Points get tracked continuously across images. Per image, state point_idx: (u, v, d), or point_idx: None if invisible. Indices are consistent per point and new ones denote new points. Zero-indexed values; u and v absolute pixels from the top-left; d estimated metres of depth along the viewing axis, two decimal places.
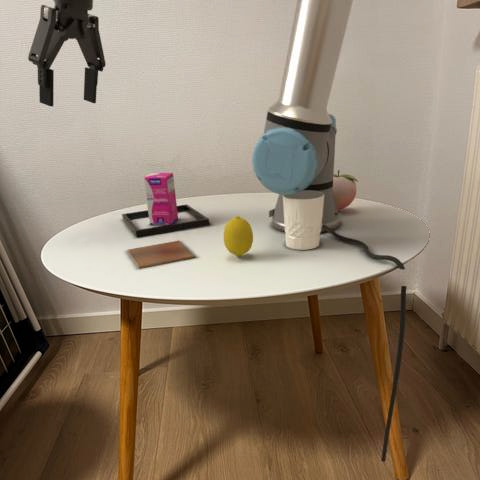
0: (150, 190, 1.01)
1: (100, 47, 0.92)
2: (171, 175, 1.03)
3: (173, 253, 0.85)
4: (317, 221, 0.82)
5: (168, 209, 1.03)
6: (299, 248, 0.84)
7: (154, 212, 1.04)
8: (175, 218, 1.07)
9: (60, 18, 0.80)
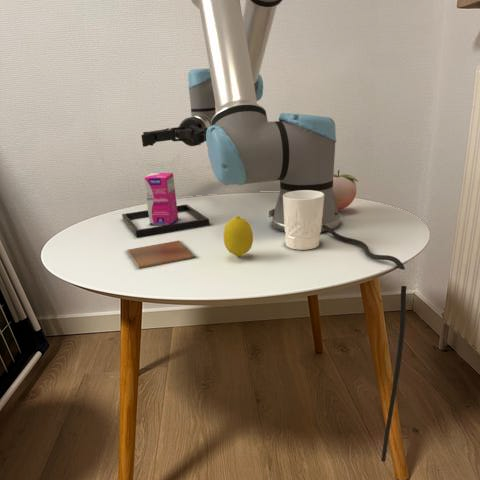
0: (150, 190, 1.01)
1: None
2: (171, 175, 1.03)
3: (173, 253, 0.85)
4: (317, 221, 0.82)
5: (168, 209, 1.03)
6: (299, 248, 0.84)
7: (154, 212, 1.04)
8: (175, 218, 1.07)
9: None
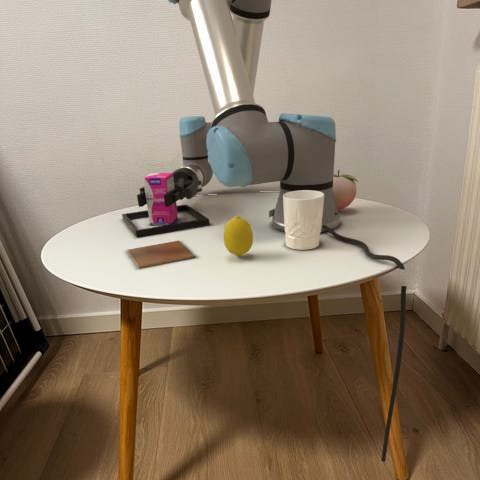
0: (150, 190, 1.01)
1: (191, 185, 1.08)
2: (171, 175, 1.03)
3: (173, 253, 0.85)
4: (317, 221, 0.82)
5: (168, 209, 1.03)
6: (299, 248, 0.84)
7: (154, 212, 1.04)
8: (175, 218, 1.07)
9: None
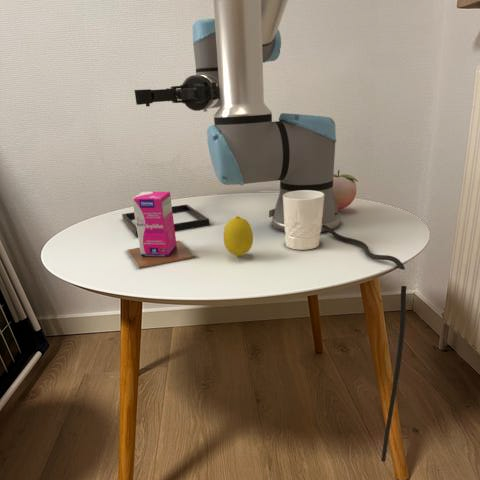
0: (140, 214, 0.80)
1: None
2: (168, 195, 0.82)
3: (173, 253, 0.85)
4: (317, 221, 0.82)
5: (164, 237, 0.82)
6: (299, 248, 0.84)
7: (146, 241, 0.83)
8: (173, 247, 0.86)
9: None
